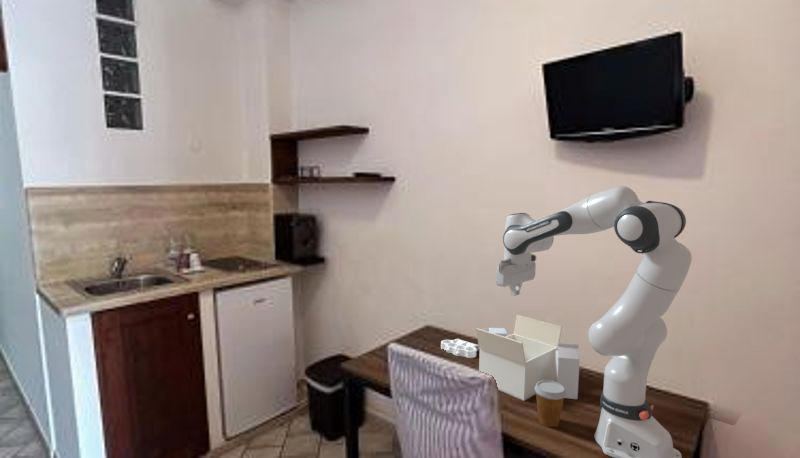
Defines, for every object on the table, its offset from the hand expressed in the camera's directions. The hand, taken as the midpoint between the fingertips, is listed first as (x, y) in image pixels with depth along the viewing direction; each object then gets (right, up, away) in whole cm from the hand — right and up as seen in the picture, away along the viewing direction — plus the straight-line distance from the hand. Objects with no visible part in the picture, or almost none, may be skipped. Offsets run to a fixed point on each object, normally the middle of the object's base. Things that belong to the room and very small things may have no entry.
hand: (515, 295), depth 163 cm
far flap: (+12, -16, +15) cm, 25 cm away
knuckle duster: (-15, -32, +40) cm, 53 cm away
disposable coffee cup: (+6, -38, -19) cm, 43 cm away
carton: (+3, -35, +9) cm, 36 cm away
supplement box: (0, -33, +32) cm, 45 cm away
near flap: (-6, -18, -1) cm, 19 cm away
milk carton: (+18, -36, 0) cm, 40 cm away
